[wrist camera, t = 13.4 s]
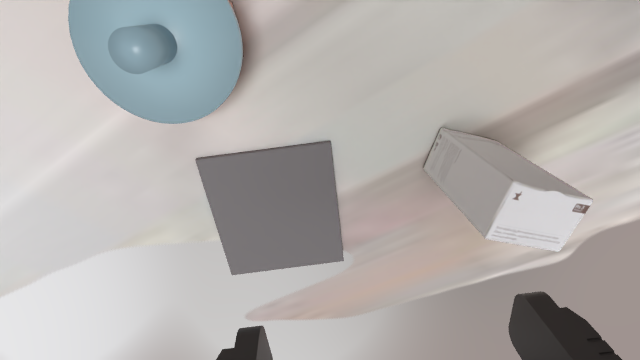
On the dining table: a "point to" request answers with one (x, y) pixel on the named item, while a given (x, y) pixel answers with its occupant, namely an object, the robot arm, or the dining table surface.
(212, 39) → the lid
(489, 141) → the skincare box
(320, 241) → the mat
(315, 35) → the dining table surface
